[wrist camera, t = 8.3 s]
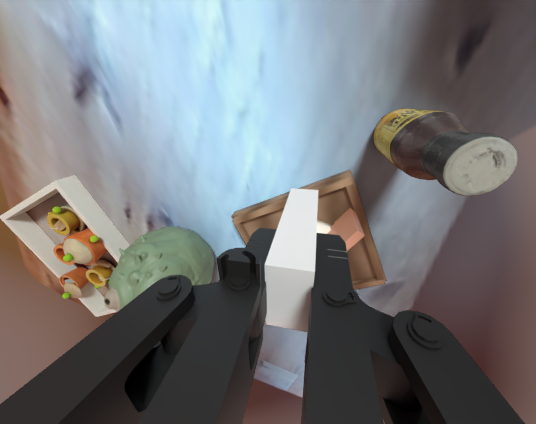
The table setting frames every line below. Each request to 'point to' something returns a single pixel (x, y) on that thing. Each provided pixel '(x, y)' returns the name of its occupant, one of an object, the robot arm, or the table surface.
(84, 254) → the toy tea set
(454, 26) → the table surface
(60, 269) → the tea tray rim
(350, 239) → the dial
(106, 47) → the table surface
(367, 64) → the table surface
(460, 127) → the sauce bottle
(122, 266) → the green monster figurine
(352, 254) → the brown wooden tray
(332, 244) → the robot arm
